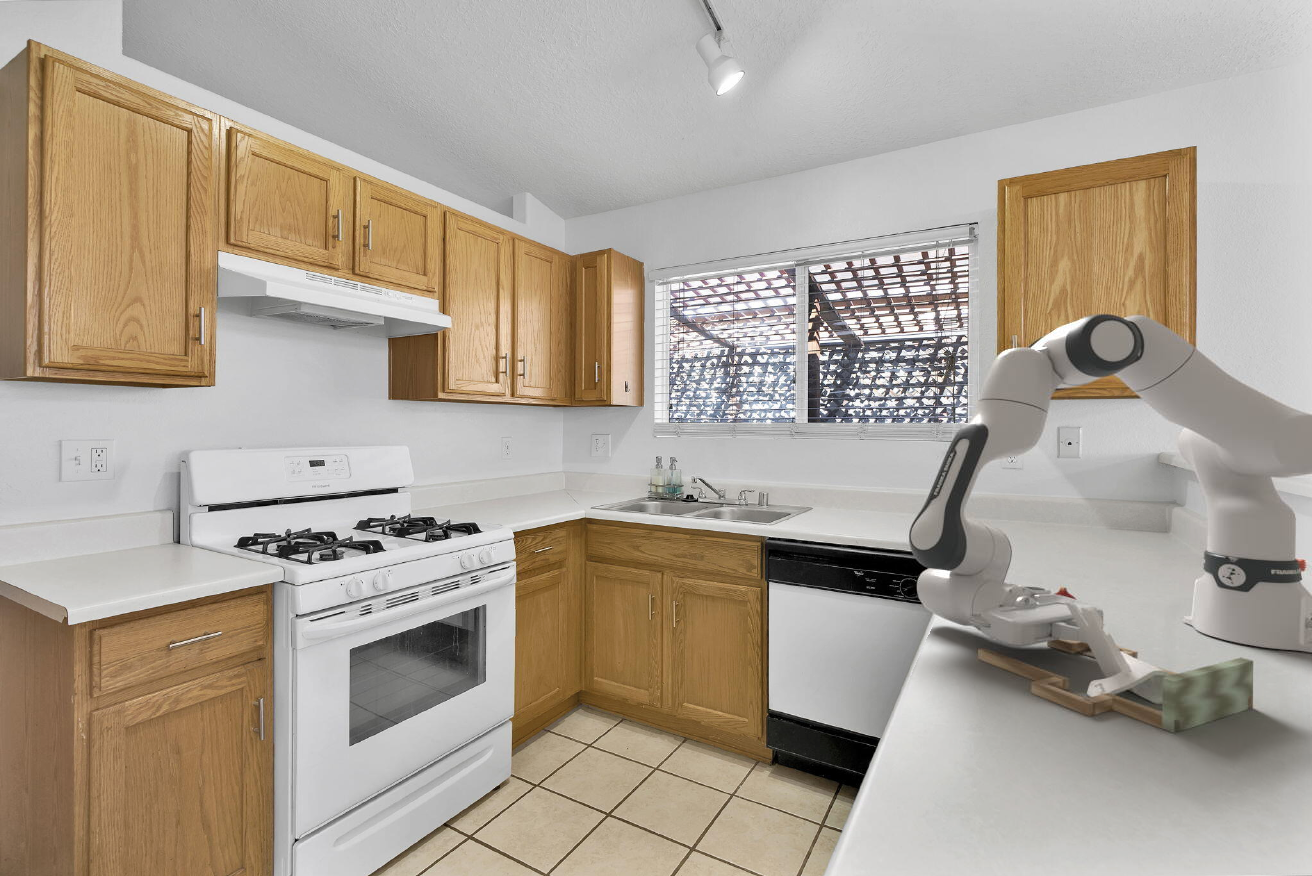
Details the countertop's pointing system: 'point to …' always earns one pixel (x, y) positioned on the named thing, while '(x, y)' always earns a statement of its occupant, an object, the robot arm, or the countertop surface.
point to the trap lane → (1182, 694)
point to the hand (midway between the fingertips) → (1097, 637)
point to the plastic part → (1116, 661)
